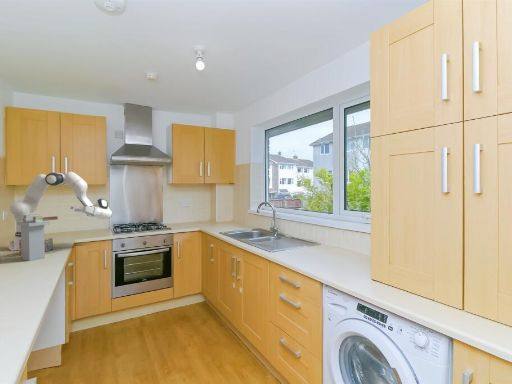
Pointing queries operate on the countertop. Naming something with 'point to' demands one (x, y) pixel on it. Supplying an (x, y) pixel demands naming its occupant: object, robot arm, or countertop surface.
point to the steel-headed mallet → (30, 217)
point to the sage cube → (37, 219)
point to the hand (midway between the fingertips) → (73, 207)
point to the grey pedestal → (32, 240)
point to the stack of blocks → (47, 242)
